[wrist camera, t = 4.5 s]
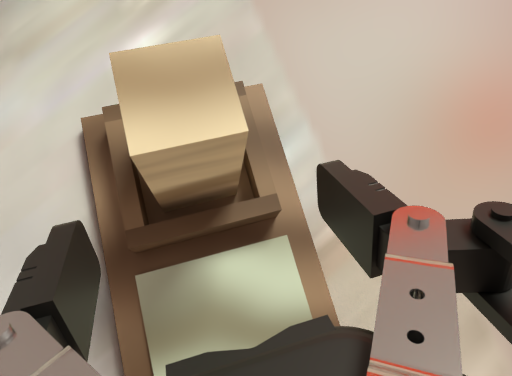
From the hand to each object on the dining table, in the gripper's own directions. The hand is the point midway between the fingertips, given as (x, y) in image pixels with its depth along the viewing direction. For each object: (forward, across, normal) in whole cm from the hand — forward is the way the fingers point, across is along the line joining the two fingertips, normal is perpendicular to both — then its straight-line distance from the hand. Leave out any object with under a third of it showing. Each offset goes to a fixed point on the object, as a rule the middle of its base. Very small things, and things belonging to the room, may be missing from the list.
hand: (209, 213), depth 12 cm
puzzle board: (+8, 0, +7) cm, 10 cm away
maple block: (+10, 0, +3) cm, 11 cm away
